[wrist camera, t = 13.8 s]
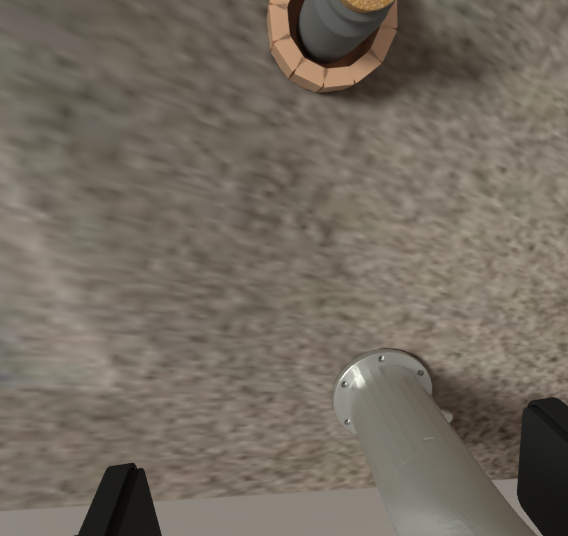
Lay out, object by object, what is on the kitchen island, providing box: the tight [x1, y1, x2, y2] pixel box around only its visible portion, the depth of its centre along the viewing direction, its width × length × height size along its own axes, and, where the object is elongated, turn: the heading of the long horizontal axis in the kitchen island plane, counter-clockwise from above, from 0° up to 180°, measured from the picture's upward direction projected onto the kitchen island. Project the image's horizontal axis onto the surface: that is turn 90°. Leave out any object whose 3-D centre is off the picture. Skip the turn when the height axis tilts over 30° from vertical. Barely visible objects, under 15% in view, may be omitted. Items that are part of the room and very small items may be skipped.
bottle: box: [296, 0, 396, 64], centre depth 32 cm, size 6×6×15 cm
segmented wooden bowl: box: [267, 0, 398, 93], centre depth 37 cm, size 11×11×5 cm
